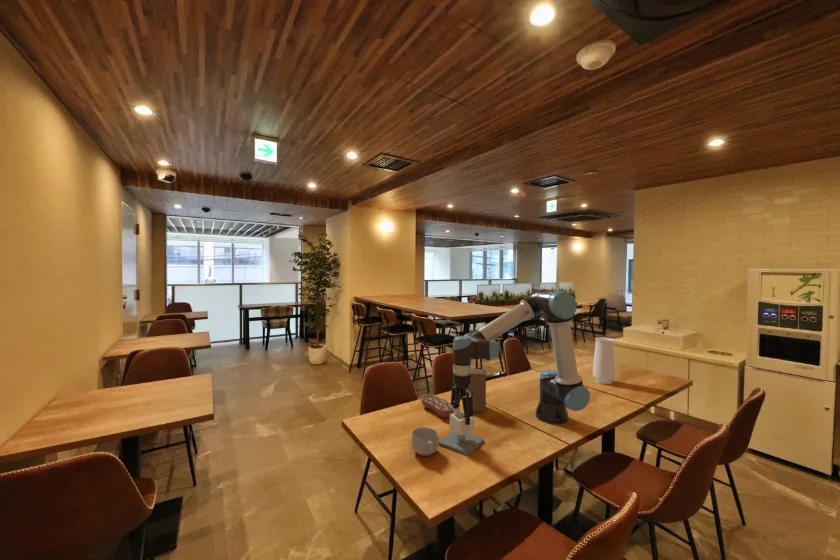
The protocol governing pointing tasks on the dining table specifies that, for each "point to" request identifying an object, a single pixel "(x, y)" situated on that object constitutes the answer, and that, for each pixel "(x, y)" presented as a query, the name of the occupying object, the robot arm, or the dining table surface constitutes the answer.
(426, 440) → the teacup
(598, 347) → the vase
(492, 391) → the dining table surface
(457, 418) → the white square sleeve
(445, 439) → the board
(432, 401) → the anatomical model
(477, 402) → the wooden block
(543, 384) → the robot arm
